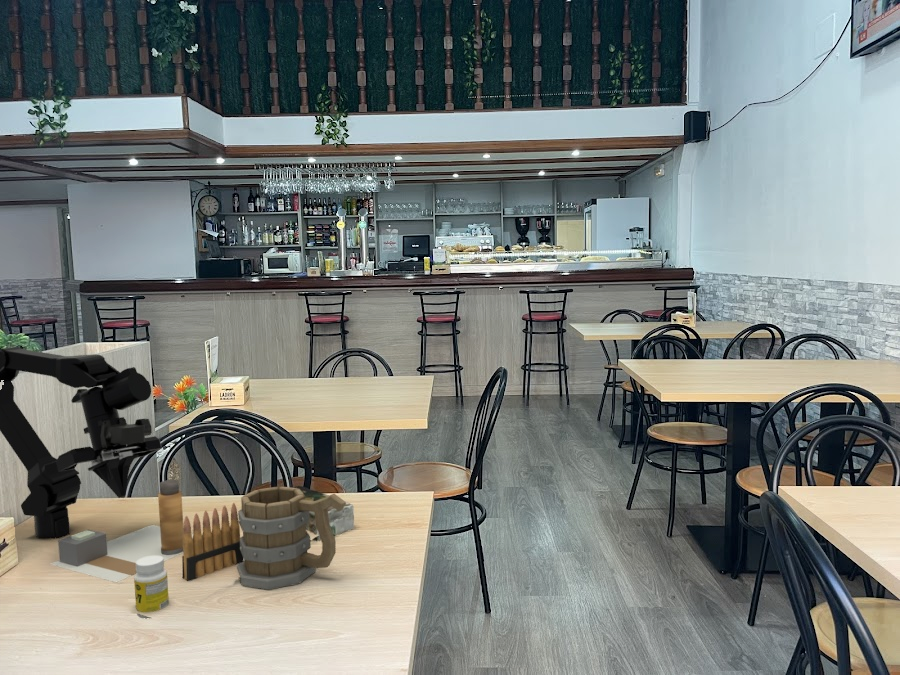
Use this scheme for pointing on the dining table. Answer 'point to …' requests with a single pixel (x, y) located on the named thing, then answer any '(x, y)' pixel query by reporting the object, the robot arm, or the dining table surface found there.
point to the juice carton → (329, 514)
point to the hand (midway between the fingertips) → (122, 496)
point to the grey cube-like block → (82, 547)
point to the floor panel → (123, 555)
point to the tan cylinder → (171, 517)
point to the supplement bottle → (150, 584)
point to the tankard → (282, 537)
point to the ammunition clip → (211, 544)
